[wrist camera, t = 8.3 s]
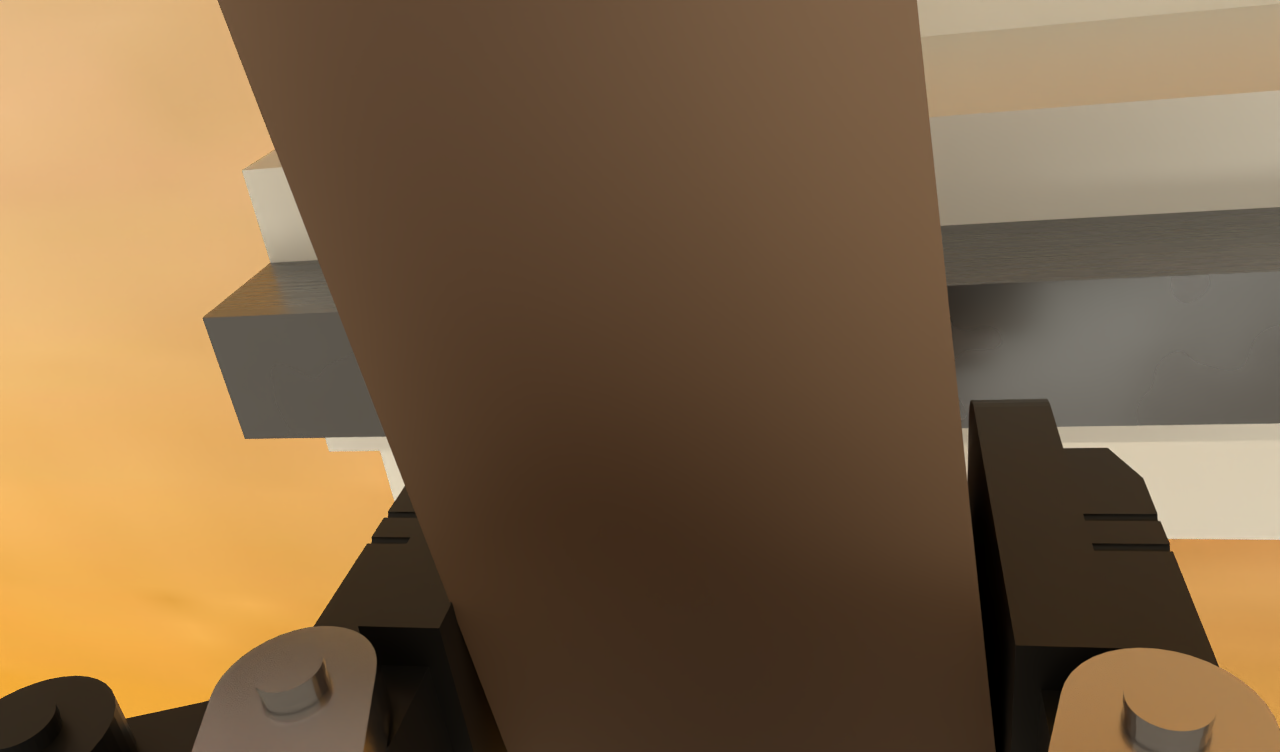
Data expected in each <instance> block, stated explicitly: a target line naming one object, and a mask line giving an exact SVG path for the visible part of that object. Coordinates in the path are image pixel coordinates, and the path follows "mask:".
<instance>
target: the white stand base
mask: <svg viewBox="0 0 1280 752" xmlns="http://www.w3.org/2000/svg"><path fill="white" fill-rule="evenodd" d="M917 6H918V16H919V25H920V35H921V44H922V54H923V64H924V73H925V83H926V92H927V102H928V111H929V121H930V130H931V140H932V149H933V159H934V168H935V178H936V188H937V197H938V207H939V216H940V226H941V235H942V245H943V254H944V264H945V273H946V283H947V292H948V302H949V311H950V321H951V331H952V340H953V350H954V359H955V369H956V378H957V388H958V397H959V407H960V416H961V426H962V435H963V445H964V455H965V464H966V474H967V477H968V422H969V406H970V401H971V400H1002V399H1048V401H1049V403H1050V405H1051V409H1052V412H1053V415H1054V419H1055V422H1056V425H1057V429H1058V432H1059V435H1060V439H1061V442H1062V445H1063V448H1109V449H1110V450H1111V451H1112V452H1113V453H1114V454H1116V455H1117V456H1118V457H1119V458H1120V459H1122V460H1123V461H1124V462H1125V463H1126V464H1127V465H1129V466H1130V467H1131V468H1132V469H1133V470H1134V471H1136V472H1137V473H1138V474H1139V475H1140V476H1141V477H1143V479H1144V481H1145V484H1146V486H1147V489H1148V491H1149V494H1150V496H1151V499H1152V501H1153V504H1154V506H1155V509H1156V511H1157V514H1158V521H1161V524H1162V526H1163V529H1164V531H1165V533H1166V536H1167V538H1168V539H1258V540H1280V0H917ZM242 172H243V176H244V179H245V182H246V185H247V188H248V192H249V195H250V198H251V201H252V204H253V208H254V211H255V214H256V217H257V221H258V224H259V227H260V230H261V233H262V237H263V240H264V243H265V246H266V249H267V253H268V256H269V259H270V262H271V263H270V264H269V265H267V266H266V267H265V268H264V269H262V270H261V271H260V272H259V273H257V274H256V275H255V276H254V277H252V278H251V279H250V280H249V281H248V282H246V283H245V284H244V285H243V286H241V287H240V288H239V289H238V290H236V291H235V292H234V293H233V294H231V295H230V296H229V297H228V298H227V299H225V300H224V301H223V302H222V303H220V304H219V305H218V306H217V307H215V308H214V309H213V310H212V311H210V312H209V313H208V314H207V315H205V316H204V317H203V321H204V323H205V326H206V329H207V332H208V335H209V338H210V341H211V343H212V346H213V349H214V352H215V355H216V358H217V360H218V363H219V366H220V369H221V372H222V375H223V377H224V380H225V383H226V386H227V389H228V392H229V395H230V397H231V400H232V403H233V406H234V409H235V412H236V414H237V417H238V420H239V423H240V426H241V429H242V431H243V434H244V437H245V439H263V438H325V439H326V442H327V446H328V449H329V451H380V452H381V456H382V459H383V463H384V466H385V470H386V473H387V477H388V481H389V484H390V488H391V491H392V495H393V498H394V502H395V500H396V499H397V497H398V496H399V494H400V492H401V491H402V489H403V488H404V486H405V485H404V482H403V479H402V477H401V474H400V472H399V469H398V466H397V464H396V461H395V459H394V456H393V454H392V451H391V448H390V446H389V443H388V441H387V438H386V435H385V433H384V430H383V428H382V425H381V422H380V420H379V417H378V415H377V412H376V409H375V407H374V404H373V402H372V399H371V396H370V394H369V391H368V389H367V386H366V384H365V381H364V378H363V376H362V373H361V371H360V368H359V365H358V363H357V360H356V358H355V355H354V352H353V350H352V347H351V345H350V342H349V339H348V337H347V334H346V332H345V329H344V327H343V324H342V321H341V319H340V316H339V314H338V311H337V308H336V306H335V303H334V301H333V298H332V295H331V293H330V290H329V288H328V285H327V282H326V280H325V277H324V275H323V272H322V269H321V267H320V264H319V262H318V259H317V257H316V254H315V251H314V249H313V246H312V244H311V241H310V238H309V236H308V233H307V231H306V228H305V225H304V223H303V220H302V218H301V215H300V212H299V210H298V207H297V205H296V202H295V199H294V197H293V194H292V192H291V189H290V187H289V184H288V181H287V179H286V176H285V174H284V171H283V168H282V166H281V163H280V161H279V158H278V155H277V153H276V150H274V151H272V152H270V153H269V154H267V155H266V156H264V157H262V158H261V159H259V160H258V161H256V162H254V163H253V164H251V165H250V166H248V167H246V168H245V169H243V170H242Z"/></svg>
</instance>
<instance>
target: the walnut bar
mask: <svg viewBox="0 0 1280 752" xmlns="http://www.w3.org/2000/svg"><path fill="white" fill-rule="evenodd" d="M218 2H219V5H220V8H221V10H222V13H223V15H224V18H225V21H226V23H227V26H228V28H229V31H230V34H231V36H232V39H233V41H234V44H235V47H236V49H237V52H238V54H239V57H240V60H241V62H242V65H243V67H244V70H245V72H246V75H247V78H248V80H249V83H250V85H251V88H252V91H253V93H254V96H255V98H256V101H257V104H258V106H259V109H260V111H261V114H262V117H263V119H264V122H265V124H266V127H267V129H268V132H269V135H270V137H271V140H272V142H273V145H274V148H275V150H276V153H277V155H278V158H279V161H280V163H281V166H282V168H283V171H284V174H285V176H286V179H287V181H288V184H289V187H290V189H291V192H292V194H293V197H294V199H295V202H296V205H297V207H298V210H299V212H300V215H301V218H302V220H303V223H304V225H305V228H306V231H307V233H308V236H309V238H310V241H311V244H312V246H313V249H314V251H315V254H316V257H317V259H318V262H319V264H320V267H321V269H322V272H323V275H324V277H325V280H326V282H327V285H328V288H329V290H330V293H331V295H332V298H333V301H334V303H335V306H336V308H337V311H338V314H339V316H340V319H341V321H342V324H343V327H344V329H345V332H346V334H347V337H348V339H349V342H350V345H351V347H352V350H353V352H354V355H355V358H356V360H357V363H358V365H359V368H360V371H361V373H362V376H363V378H364V381H365V384H366V386H367V389H368V391H369V394H370V396H371V399H372V402H373V404H374V407H375V409H376V412H377V415H378V417H379V420H380V422H381V425H382V428H383V430H384V433H385V435H386V438H387V441H388V443H389V446H390V448H391V451H392V454H393V456H394V459H395V461H396V464H397V466H398V469H399V472H400V474H401V477H402V479H403V482H404V485H405V487H406V490H407V492H408V495H409V498H410V500H411V503H412V505H413V508H414V511H415V513H416V516H417V518H418V521H419V524H420V526H421V529H422V531H423V534H424V536H425V539H426V542H427V544H428V547H429V549H430V552H431V555H432V557H433V560H434V562H435V565H436V568H437V570H438V573H439V575H440V578H441V581H442V583H443V586H444V588H445V591H446V594H447V596H448V599H449V601H450V602H452V604H453V608H454V611H455V615H456V619H457V622H458V625H459V627H460V630H461V632H462V635H463V638H464V640H465V643H466V645H467V648H468V651H469V653H470V656H471V658H472V661H473V663H474V666H475V669H476V671H477V674H478V676H479V679H480V682H481V684H482V687H483V689H484V692H485V695H486V697H487V700H488V702H489V705H490V708H491V710H492V713H493V715H494V718H495V721H496V723H497V726H498V728H499V731H500V733H501V736H502V739H503V741H504V744H505V746H506V749H507V752H996V750H995V741H994V731H993V722H992V712H991V702H990V693H989V683H988V674H987V664H986V655H985V645H984V636H983V626H982V617H981V607H980V598H979V588H978V579H977V569H976V559H975V550H974V540H973V531H972V521H971V512H970V502H969V493H968V483H967V474H966V464H965V455H964V445H963V435H962V426H961V416H960V407H959V397H958V388H957V378H956V369H955V359H954V350H953V340H952V331H951V321H950V311H949V302H948V292H947V283H946V273H945V264H944V254H943V245H942V235H941V226H940V216H939V207H938V197H937V188H936V178H935V168H934V159H933V149H932V140H931V130H930V121H929V111H928V102H927V92H926V83H925V73H924V64H923V54H922V44H921V35H920V25H919V16H918V6H917V0H218Z"/></svg>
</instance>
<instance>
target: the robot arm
mask: <svg viewBox="0 0 1280 752" xmlns="http://www.w3.org/2000/svg"><path fill="white" fill-rule="evenodd" d="M967 483H968V493H969V502H970V512H971V521H972V531H973V540H974V550H975V559H976V569H977V579H978V588H979V598H980V607H981V617H982V626H983V636H984V645H985V655H986V664H987V674H988V683H989V693H990V702H991V712H992V722H993V731H994V741H995V750H996V752H1280V728H1279V726H1278V724H1277V721H1276V719H1275V717H1274V715H1273V714H1272V712H1271V711H1270V709H1269V708H1268V706H1267V704H1266V703H1265V702H1264V701H1263V700H1262V699H1261V698H1260V697H1259V696H1258V695H1257V693H1256V692H1255V691H1253V690H1252V689H1251V688H1250V687H1249V686H1247V685H1246V684H1245V683H1244V682H1243V681H1241V680H1240V679H1238V678H1237V677H1235V676H1234V675H1232V674H1230V673H1229V672H1227V671H1226V670H1224V669H1222V668H1220V667H1219V666H1218V663H1217V661H1216V658H1215V656H1214V653H1213V651H1212V648H1211V646H1210V643H1209V641H1208V638H1207V636H1206V633H1205V631H1204V628H1203V626H1202V623H1201V621H1200V618H1199V616H1198V613H1197V611H1196V608H1195V606H1194V603H1193V601H1192V598H1191V596H1190V593H1189V591H1188V588H1187V586H1186V583H1185V581H1184V578H1183V576H1182V573H1181V571H1180V568H1179V566H1178V563H1177V561H1176V558H1175V556H1174V553H1173V552H1170V543H1169V541H1168V538H1167V536H1166V533H1165V531H1164V529H1163V526H1162V524H1161V521H1158V514H1157V511H1156V509H1155V506H1154V504H1153V501H1152V499H1151V496H1150V494H1149V491H1148V489H1147V486H1146V484H1145V481H1144V479H1143V477H1141V476H1140V475H1139V474H1138V473H1137V472H1136V471H1134V470H1133V469H1132V468H1131V467H1130V466H1129V465H1127V464H1126V463H1125V462H1124V461H1123V460H1122V459H1120V458H1119V457H1118V456H1117V455H1116V454H1114V453H1113V452H1112V451H1111V450H1110V449H1109V448H1063V445H1062V442H1061V439H1060V435H1059V432H1058V429H1057V425H1056V422H1055V419H1054V415H1053V412H1052V409H1051V405H1050V403H1049V401H1048V399H1002V400H971V401H970V406H969V422H968V477H967ZM0 752H507V749H506V746H505V744H504V741H503V739H502V736H501V733H500V731H499V728H498V726H497V723H496V721H495V718H494V715H493V713H492V710H491V708H490V705H489V702H488V700H487V697H486V695H485V692H484V689H483V687H482V684H481V682H480V679H479V676H478V674H477V671H476V669H475V666H474V663H473V661H472V658H471V656H470V653H469V651H468V648H467V645H466V643H465V640H464V638H463V635H462V632H461V630H460V627H459V625H458V622H457V619H456V615H455V611H454V608H453V604H452V602H450V601H449V599H448V596H447V594H446V591H445V588H444V586H443V583H442V581H441V578H440V575H439V573H438V570H437V568H436V565H435V562H434V560H433V557H432V555H431V552H430V549H429V547H428V544H427V542H426V539H425V536H424V534H423V531H422V529H421V526H420V524H419V521H418V518H417V516H416V513H415V511H414V508H413V505H412V503H411V500H410V498H409V495H408V492H407V490H406V487H405V486H404V488H403V489H402V491H401V492H400V494H399V496H398V497H397V499H396V500H395V502H394V503H393V505H392V506H391V508H390V509H389V511H388V518H384V519H383V520H382V522H381V523H380V525H379V526H378V528H377V529H376V531H375V533H374V534H373V536H372V543H371V544H367V545H366V546H365V548H364V550H363V551H362V553H361V554H360V556H359V557H358V559H357V560H356V562H355V563H354V565H353V567H352V568H351V570H350V571H349V573H348V574H347V576H346V577H345V579H344V580H343V582H342V583H341V585H340V587H339V588H338V590H337V591H336V593H335V594H334V596H333V597H332V599H331V600H330V602H329V604H328V605H327V607H326V608H325V610H324V611H323V613H322V614H321V616H320V617H319V619H318V621H317V622H316V624H315V625H314V627H308V628H304V629H299V630H295V631H292V632H289V633H286V634H283V635H280V636H277V637H275V638H273V639H271V640H268V641H266V642H265V643H263V644H261V645H259V646H257V647H256V648H254V649H252V650H251V651H250V652H248V653H247V654H245V655H244V656H242V657H241V658H240V659H239V660H238V661H237V662H236V663H234V664H233V665H232V666H231V667H230V668H229V669H228V670H227V671H226V673H225V674H224V675H223V676H222V677H221V679H220V680H219V682H218V683H217V685H216V686H215V688H214V690H213V693H212V695H211V697H210V700H209V701H206V702H202V703H197V704H192V705H188V706H183V707H178V708H174V709H169V710H164V711H160V712H155V713H150V714H145V715H141V716H136V717H131V718H127V719H125V717H124V715H123V713H122V711H121V708H120V706H119V704H118V702H117V700H116V698H115V696H114V694H113V692H112V690H111V689H110V688H109V687H108V686H107V685H106V684H105V683H104V682H102V681H100V680H98V679H94V678H91V677H85V676H67V677H59V678H54V679H49V680H45V681H42V682H38V683H35V684H32V685H30V686H27V687H24V688H22V689H19V690H17V691H15V692H13V693H11V694H9V695H7V696H5V697H3V698H1V699H0Z"/></svg>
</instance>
